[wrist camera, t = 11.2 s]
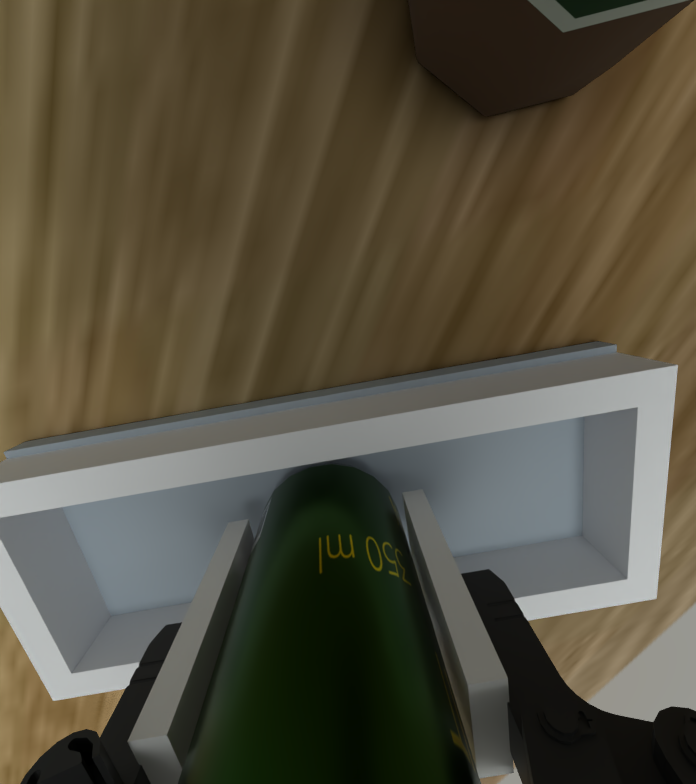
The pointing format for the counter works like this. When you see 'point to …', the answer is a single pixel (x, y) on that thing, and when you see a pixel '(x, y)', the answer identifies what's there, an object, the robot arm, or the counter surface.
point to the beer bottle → (529, 44)
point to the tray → (352, 447)
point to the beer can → (330, 652)
